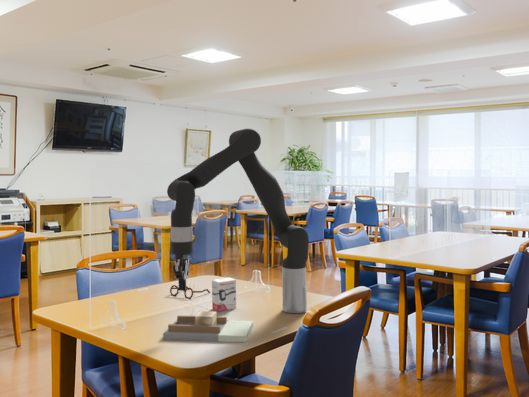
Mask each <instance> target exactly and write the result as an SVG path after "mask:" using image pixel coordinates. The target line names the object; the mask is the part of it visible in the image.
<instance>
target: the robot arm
mask: <svg viewBox="0 0 529 397" xmlns="http://www.w3.org/2000/svg"><path fill="white" fill-rule="evenodd" d="M228 138H229V139H228V146H227V147H225V148H224V149H222V150H221V151H219V152H217V153H215V154H214V155H211V156H210V157H208V158H206V159H204V160H203V161H202V162H201V163H199V164H198V165H197V166H195V167H193V168H192V169H191V170H190V171H188V172H186V173H184V174H183V175H180V176H178V177H177V178H175V179H174V180H173V181H171V182H170V183H169V185H168V186H167V190H166V192H167V193H166V194H167V196H168V198H169V199H171V200H172V201H175V208H174V209H173V210H171V213H170V234H169V235H170V236H169V237H170V254H171V255H175V260H174V265H173V267H172V270H173V273H174V277H175V279H177V280H178V288H179V291H183V292H184V290H185V289H186V286H187V279H188V276H189V272H190V267H191V259H190V258H189V255H191V254H193V252H194V233H193V232H194V230H193V216H192V214H193V210H194V206H195V205H194V204H195V201H196V191H195V190H196V189H200V188H203V187H205V186H207V185H208V184H209V183H210V182H212V181H213V180H214V179H215V178H216V177H218V176H219V175H220V174H222V173H223V172H224V171H226V170H227V169H228V168H229V167H231V166H232V165H234V164H235V163H239V164H240V166H241V167H242V169H243V171H244V172H245V174H246V177H247V178H248V180H249V183H250V184H251V186H252V187H253V190H254V192H255V194H256V196H257V198H258V200H259V201H260V203H261V205H262V206H263V209H264V211H265V212H266V214H267V216H268V217H269V219H270V221H271V224H272V227H273V229H274V231H275V234H276V236H277V239H278V241H279V243H280V244H281V245H282V246H283V247H284V248H285V249H287V254H286V257H285V258H282V264H281V266H282V270H281V271H282V274H281V275H282V280H281V281H282V311H283V312H285V313H288V314H300V313H301V314H302V313H307V305H308V304H307V301H308V300H307V298H308V296H307V291H308V290H307V262H308V260H309V248H310V247H309V242H310V241H309V234H308V231H307V230H306V229H305V228H304V227H302V226H298V225H294V223H293V222H292V220H291V219H290V217H289V215H288V213H287V209H286V203H285V195H284V192H283V190H282V188H281V186H280V184H279V181H278V180H277V178H276V177H275V176H274V175H273V174H272V173H271V171H270V170H268V168H266V166H264V165H263V164H262V162H261V161H260V160H259V158H258V157H257V155H256V151H258V149H260V147H261V144H262V139H261V135H260V133H259V132H258V131H257V130H256V129H253V128H243V129H240V130H236V131H232V133H231V134H230V136H229V137H228Z"/></svg>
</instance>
